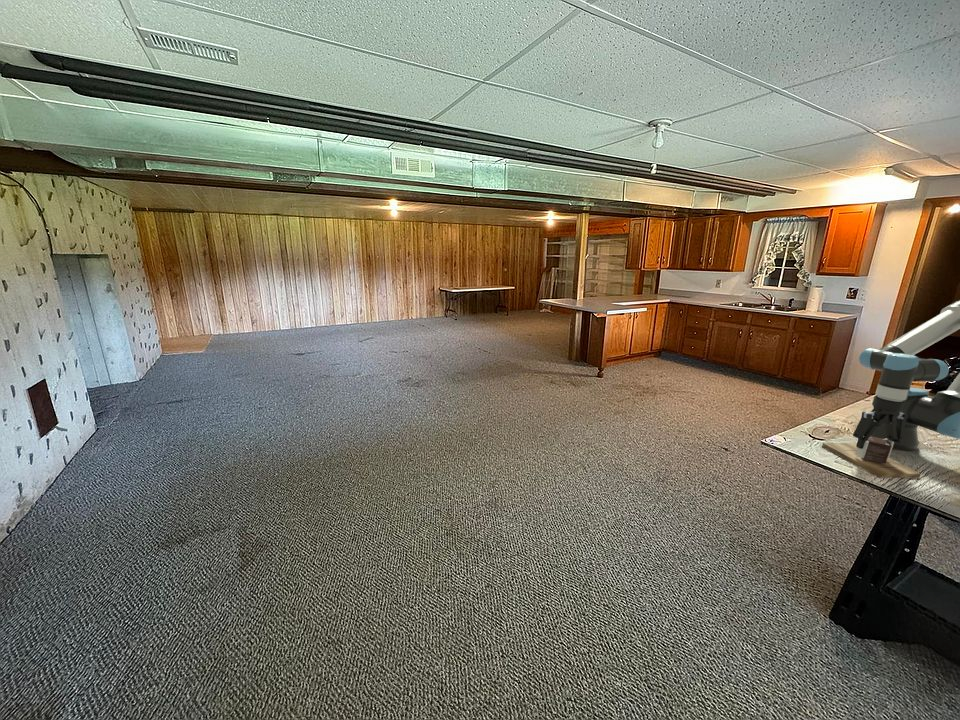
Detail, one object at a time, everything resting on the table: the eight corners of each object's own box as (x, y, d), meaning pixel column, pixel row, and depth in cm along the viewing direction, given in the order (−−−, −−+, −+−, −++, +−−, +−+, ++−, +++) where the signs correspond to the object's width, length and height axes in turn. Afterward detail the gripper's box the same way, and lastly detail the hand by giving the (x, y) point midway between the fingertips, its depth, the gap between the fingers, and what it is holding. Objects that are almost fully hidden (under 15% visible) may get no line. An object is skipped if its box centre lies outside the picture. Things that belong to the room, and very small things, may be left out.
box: (858, 452, 141) (864, 434, 139) (881, 457, 137) (887, 439, 135) (862, 459, 136) (868, 440, 134) (885, 464, 132) (892, 445, 131)
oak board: (857, 446, 149) (858, 442, 149) (919, 477, 128) (921, 473, 128) (821, 446, 149) (822, 442, 149) (878, 477, 128) (879, 473, 128)
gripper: (909, 394, 134) (890, 451, 140) (849, 393, 135) (833, 450, 141) (933, 402, 127) (912, 462, 133) (869, 401, 127) (852, 461, 133)
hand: (871, 456), depth 137 cm, fingers closed on box, 8 cm apart
